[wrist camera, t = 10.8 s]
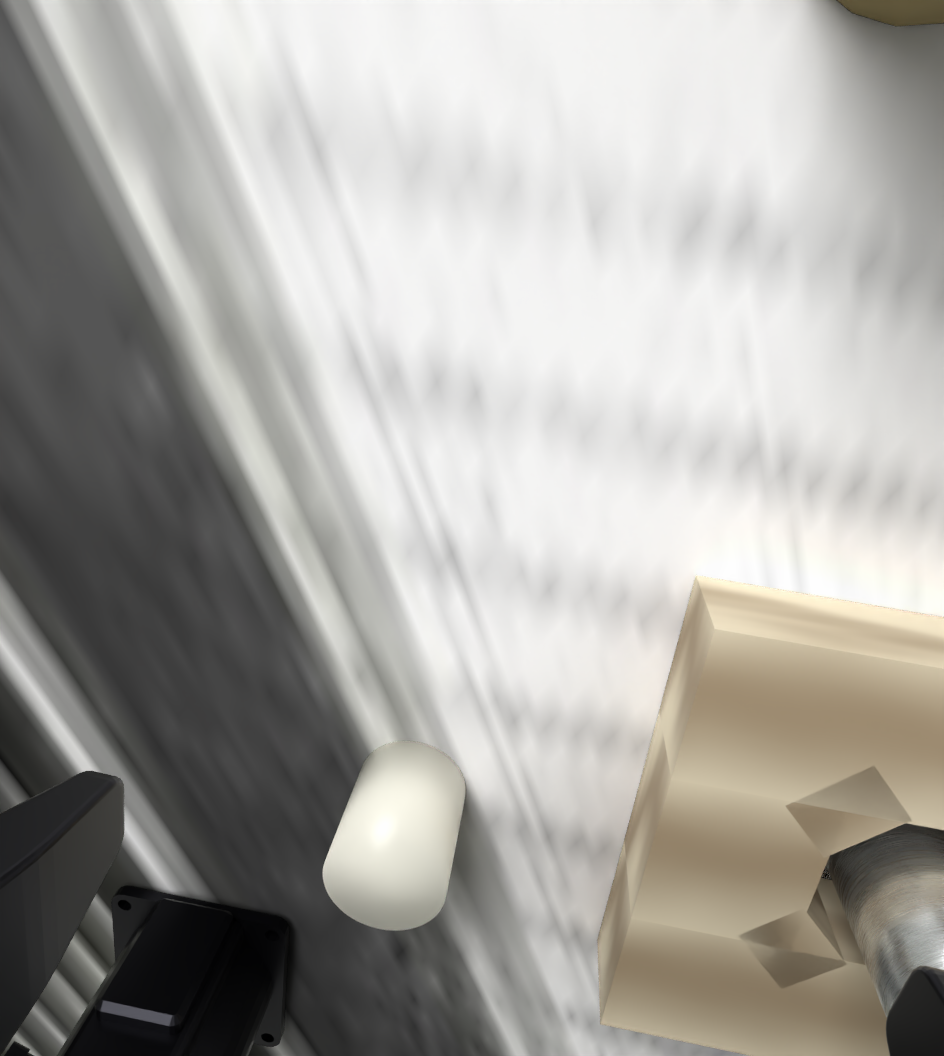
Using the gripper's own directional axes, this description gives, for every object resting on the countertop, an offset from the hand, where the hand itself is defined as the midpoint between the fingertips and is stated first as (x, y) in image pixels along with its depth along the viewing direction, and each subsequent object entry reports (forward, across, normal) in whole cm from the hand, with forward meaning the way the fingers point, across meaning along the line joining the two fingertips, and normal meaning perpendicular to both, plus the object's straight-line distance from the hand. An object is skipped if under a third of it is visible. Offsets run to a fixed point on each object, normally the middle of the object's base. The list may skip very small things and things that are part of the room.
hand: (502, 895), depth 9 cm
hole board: (+13, -12, +8) cm, 19 cm away
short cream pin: (+13, +2, +10) cm, 17 cm away
